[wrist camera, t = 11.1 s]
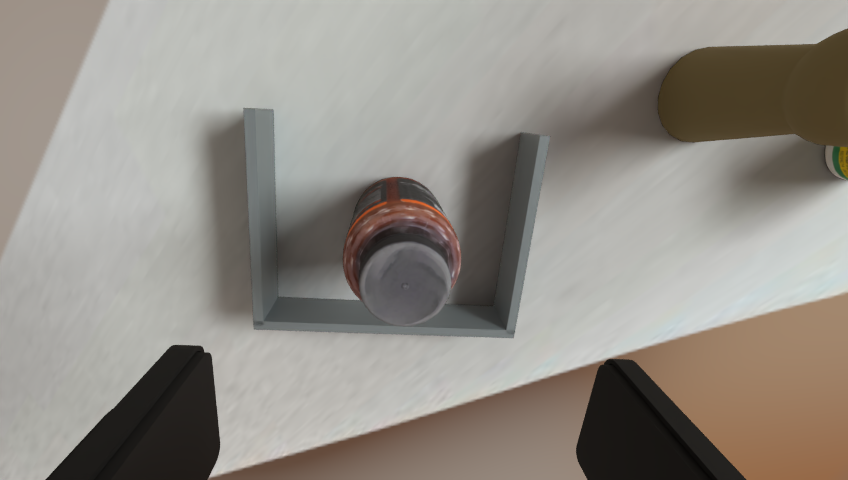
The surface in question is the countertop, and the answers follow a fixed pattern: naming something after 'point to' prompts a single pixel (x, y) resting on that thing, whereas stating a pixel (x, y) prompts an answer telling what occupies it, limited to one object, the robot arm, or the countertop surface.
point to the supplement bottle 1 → (401, 252)
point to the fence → (353, 313)
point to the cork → (759, 92)
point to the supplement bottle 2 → (837, 160)
